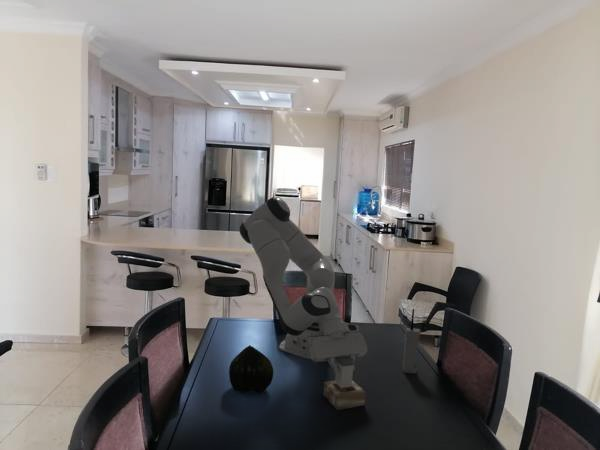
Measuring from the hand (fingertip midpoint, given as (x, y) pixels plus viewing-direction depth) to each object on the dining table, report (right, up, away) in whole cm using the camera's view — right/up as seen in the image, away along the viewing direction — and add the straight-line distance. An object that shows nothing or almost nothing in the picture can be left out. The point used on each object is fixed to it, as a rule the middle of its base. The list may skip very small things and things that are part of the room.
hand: (345, 371), depth 140 cm
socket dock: (0, -10, +2) cm, 10 cm away
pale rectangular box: (-1, -5, +1) cm, 5 cm away
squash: (-32, -8, +6) cm, 34 cm away
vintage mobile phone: (+28, -9, +26) cm, 39 cm away
